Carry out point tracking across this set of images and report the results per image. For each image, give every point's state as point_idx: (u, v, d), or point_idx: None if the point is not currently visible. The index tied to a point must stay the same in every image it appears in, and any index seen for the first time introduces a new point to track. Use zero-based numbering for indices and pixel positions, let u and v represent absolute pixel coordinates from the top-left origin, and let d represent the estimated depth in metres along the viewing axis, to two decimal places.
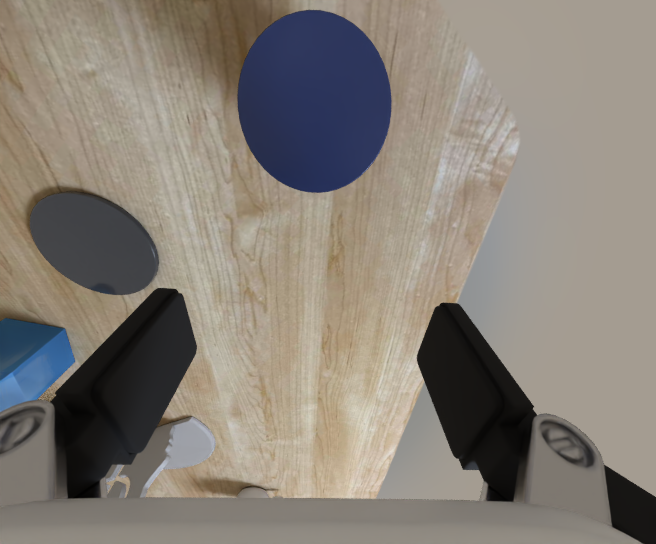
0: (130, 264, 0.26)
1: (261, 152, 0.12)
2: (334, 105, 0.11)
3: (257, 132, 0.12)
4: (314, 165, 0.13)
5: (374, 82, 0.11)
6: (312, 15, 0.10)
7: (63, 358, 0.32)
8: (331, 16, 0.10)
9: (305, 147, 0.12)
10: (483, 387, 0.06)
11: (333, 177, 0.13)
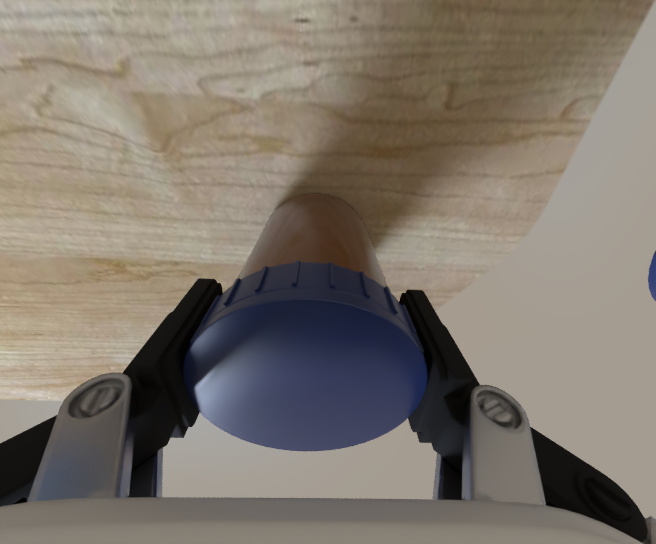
0: None
1: (236, 328, 0.06)
2: (321, 410, 0.08)
3: (272, 324, 0.06)
4: (232, 393, 0.07)
5: (346, 439, 0.09)
6: (421, 391, 0.07)
7: None
8: (415, 405, 0.08)
9: (259, 384, 0.07)
10: (432, 362, 0.07)
11: (220, 412, 0.08)
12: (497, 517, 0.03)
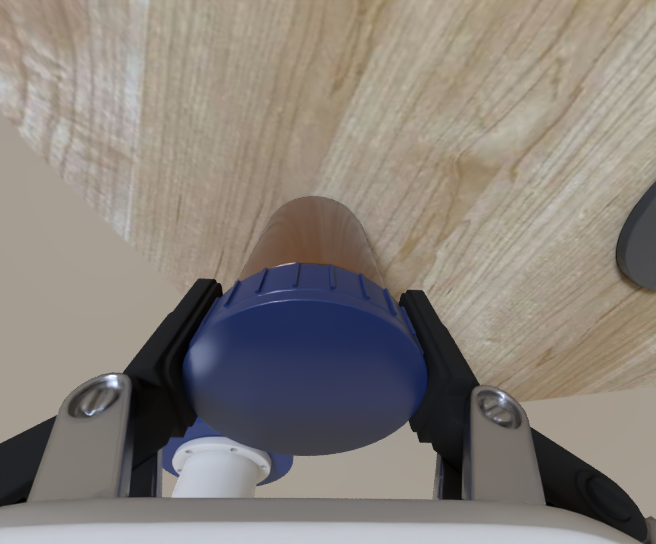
0: None
1: (236, 329, 0.06)
2: (320, 413, 0.08)
3: (272, 325, 0.06)
4: (232, 396, 0.07)
5: (346, 443, 0.09)
6: (421, 393, 0.07)
7: None
8: (415, 407, 0.08)
9: (258, 387, 0.07)
10: (432, 363, 0.07)
11: (219, 416, 0.08)
12: (497, 517, 0.03)
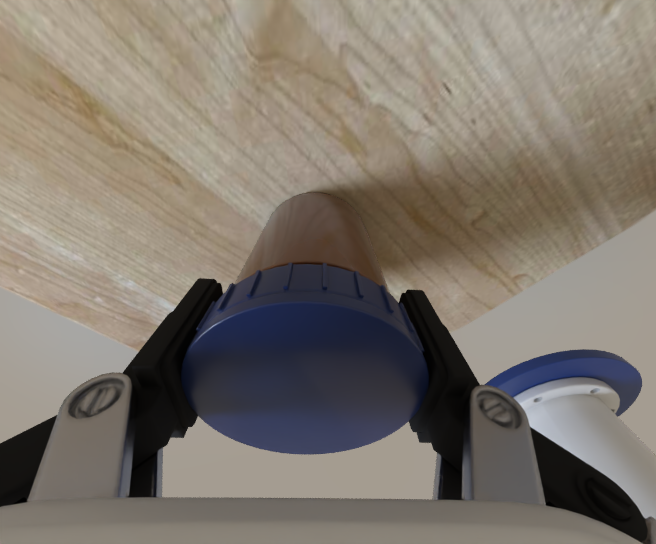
0: None
1: (213, 418, 0.08)
2: (339, 392, 0.07)
3: (210, 401, 0.07)
4: (294, 435, 0.08)
5: (407, 381, 0.07)
6: (329, 309, 0.06)
7: None
8: (361, 314, 0.06)
9: (284, 420, 0.08)
10: (432, 363, 0.07)
11: (319, 445, 0.09)
12: (497, 517, 0.03)
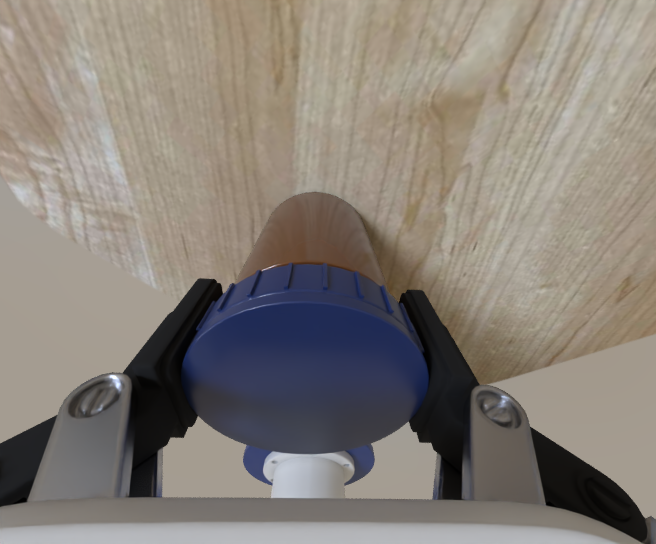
0: None
1: (213, 418, 0.08)
2: (339, 392, 0.07)
3: (210, 401, 0.07)
4: (294, 435, 0.08)
5: (407, 381, 0.07)
6: (330, 309, 0.06)
7: None
8: (362, 314, 0.06)
9: (284, 420, 0.08)
10: (432, 363, 0.07)
11: (319, 445, 0.09)
12: (497, 517, 0.03)
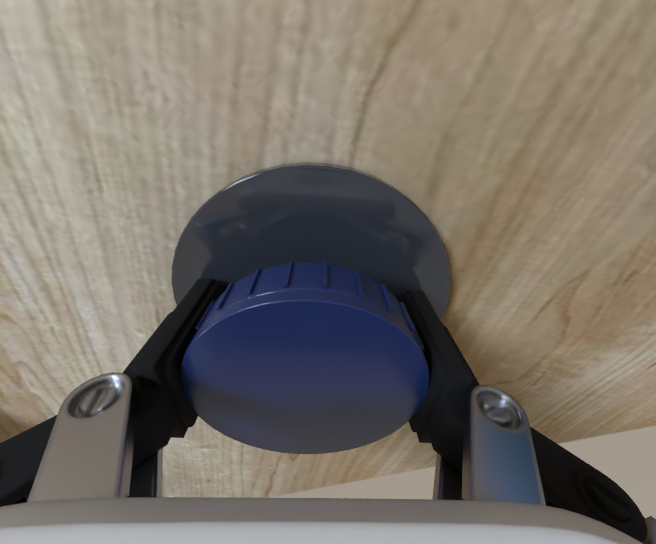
0: (246, 266, 0.09)
1: (213, 417, 0.08)
2: (339, 391, 0.07)
3: (210, 400, 0.07)
4: (294, 434, 0.08)
5: (407, 380, 0.07)
6: (330, 307, 0.06)
7: None
8: (362, 312, 0.06)
9: (284, 420, 0.08)
10: (432, 363, 0.07)
11: (319, 445, 0.09)
12: (496, 517, 0.03)
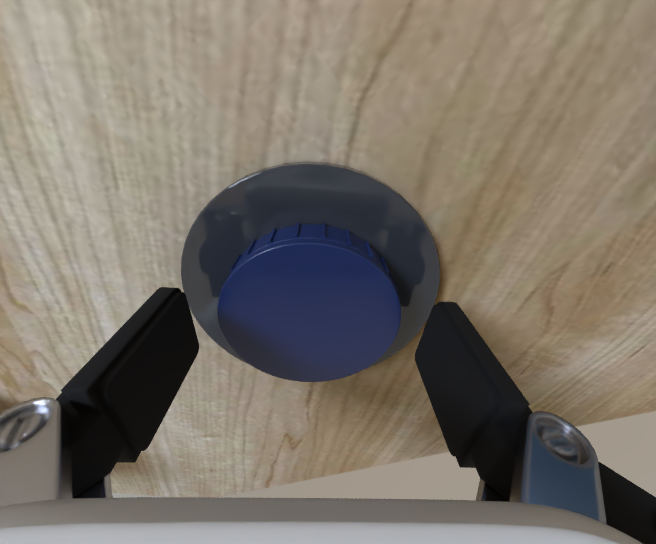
0: None
1: (239, 344, 0.10)
2: (334, 321, 0.10)
3: (237, 328, 0.10)
4: (300, 362, 0.11)
5: (384, 311, 0.09)
6: (327, 249, 0.08)
7: None
8: (349, 253, 0.08)
9: (293, 347, 0.10)
10: (479, 385, 0.07)
11: (319, 373, 0.11)
12: (497, 517, 0.03)
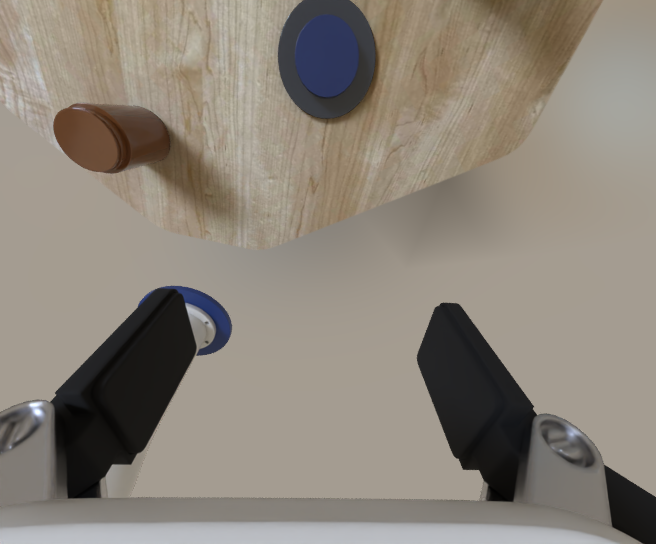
0: None
1: (300, 69, 0.28)
2: (335, 56, 0.27)
3: (301, 59, 0.27)
4: (322, 82, 0.28)
5: (353, 50, 0.27)
6: (333, 17, 0.26)
7: None
8: (340, 19, 0.26)
9: (320, 72, 0.28)
10: (483, 387, 0.06)
11: (329, 90, 0.29)
12: (497, 517, 0.03)
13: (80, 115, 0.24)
